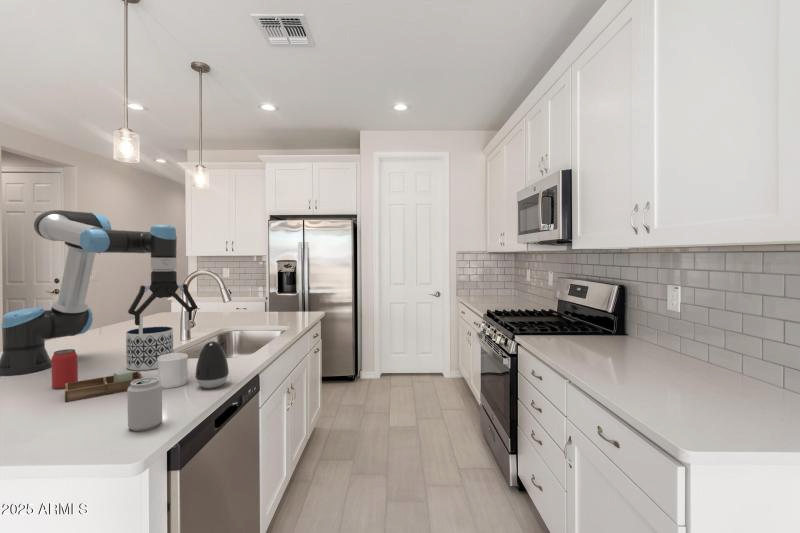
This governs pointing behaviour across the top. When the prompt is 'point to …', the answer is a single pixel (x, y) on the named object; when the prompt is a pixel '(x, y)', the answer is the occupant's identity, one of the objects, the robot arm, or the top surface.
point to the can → (144, 403)
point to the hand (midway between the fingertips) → (164, 332)
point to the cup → (172, 370)
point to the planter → (147, 347)
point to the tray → (96, 387)
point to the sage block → (123, 376)
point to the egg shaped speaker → (212, 366)
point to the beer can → (64, 368)
